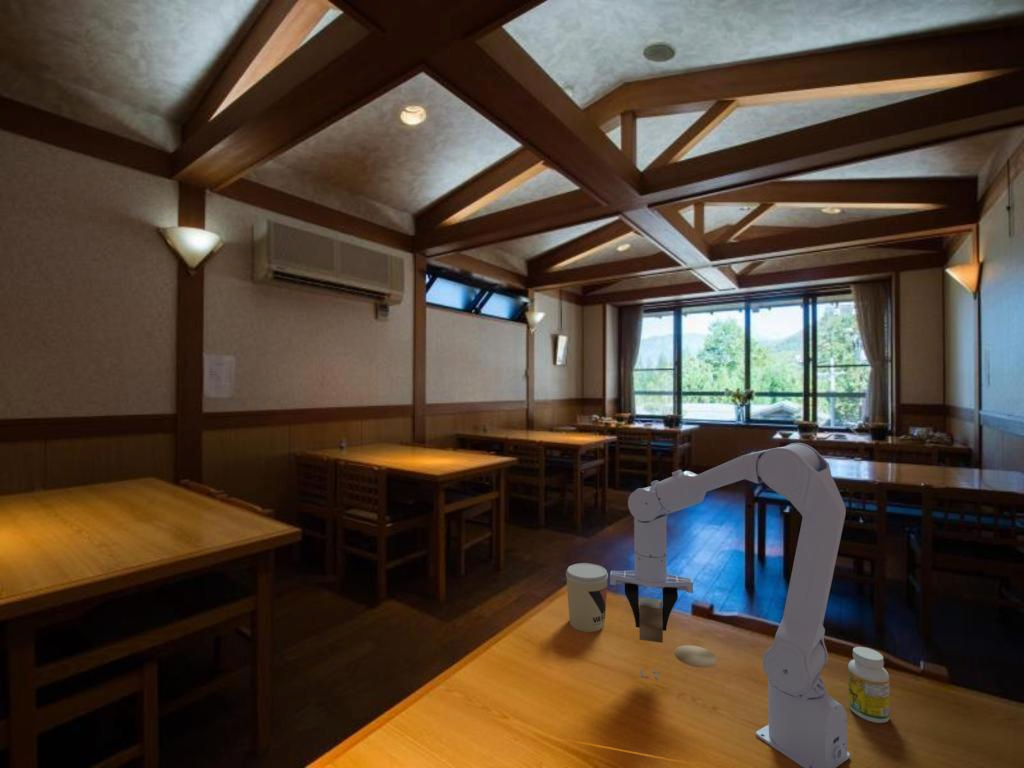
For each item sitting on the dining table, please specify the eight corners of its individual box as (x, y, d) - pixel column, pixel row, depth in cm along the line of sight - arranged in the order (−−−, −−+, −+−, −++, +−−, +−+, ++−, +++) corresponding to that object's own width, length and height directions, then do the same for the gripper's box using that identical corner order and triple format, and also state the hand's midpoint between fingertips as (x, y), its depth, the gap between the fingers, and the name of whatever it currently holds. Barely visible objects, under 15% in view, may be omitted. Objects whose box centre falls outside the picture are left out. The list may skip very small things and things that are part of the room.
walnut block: (661, 631, 89) (661, 599, 89) (662, 642, 86) (662, 609, 86) (639, 629, 90) (639, 597, 90) (639, 639, 87) (639, 606, 87)
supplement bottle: (895, 727, 74) (894, 665, 74) (853, 719, 76) (853, 658, 76) (882, 706, 79) (882, 648, 79) (844, 698, 81) (844, 641, 81)
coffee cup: (598, 639, 101) (598, 581, 101) (558, 627, 106) (558, 572, 106) (614, 620, 108) (614, 567, 109) (577, 610, 114) (576, 559, 114)
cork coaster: (724, 660, 92) (724, 659, 92) (698, 672, 89) (698, 671, 89) (692, 642, 99) (692, 641, 99) (666, 652, 95) (666, 651, 95)
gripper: (690, 548, 90) (690, 621, 90) (611, 542, 94) (611, 611, 94) (694, 561, 83) (694, 640, 83) (609, 554, 87) (609, 629, 87)
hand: (650, 626), depth 88 cm, fingers closed on walnut block, 4 cm apart
